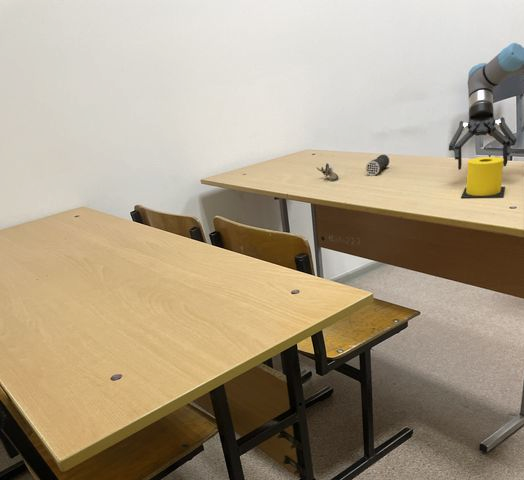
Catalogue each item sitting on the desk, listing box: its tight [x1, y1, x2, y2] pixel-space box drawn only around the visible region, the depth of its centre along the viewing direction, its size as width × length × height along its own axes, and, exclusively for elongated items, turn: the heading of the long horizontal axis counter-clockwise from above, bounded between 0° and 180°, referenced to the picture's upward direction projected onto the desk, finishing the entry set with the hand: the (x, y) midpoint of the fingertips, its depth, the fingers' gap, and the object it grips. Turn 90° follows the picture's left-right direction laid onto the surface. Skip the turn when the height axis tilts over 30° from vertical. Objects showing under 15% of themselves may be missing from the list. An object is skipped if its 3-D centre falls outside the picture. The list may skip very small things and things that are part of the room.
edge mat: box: [460, 186, 506, 199], centre depth 166 cm, size 12×12×1 cm
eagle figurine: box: [316, 163, 339, 182], centre depth 209 cm, size 8×7×9 cm
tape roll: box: [465, 156, 504, 196], centre depth 164 cm, size 10×10×9 cm
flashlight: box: [365, 154, 390, 177], centre depth 211 cm, size 15×5×5 cm, turn 153°
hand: (482, 165), depth 170 cm, fingers open, 13 cm apart
